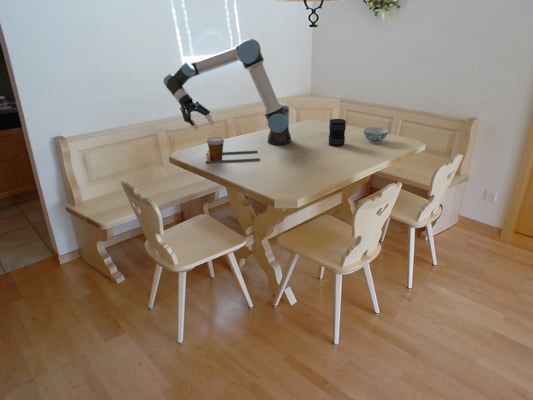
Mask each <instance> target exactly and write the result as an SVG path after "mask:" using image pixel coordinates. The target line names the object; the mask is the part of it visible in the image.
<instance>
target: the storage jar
mask: <svg viewBox="0 0 533 400" xmlns="http://www.w3.org/2000/svg"><path fill="white" fill-rule="evenodd" d="M346 123H347V121H346V119H344V118H332V119H329V126H328V128H329V134H328V146H330V147H335V148H336V147H337V148H338V147H339V148H340V147H343V146H345V140H346V138H345V137H346V136H345V132H346Z"/></svg>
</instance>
